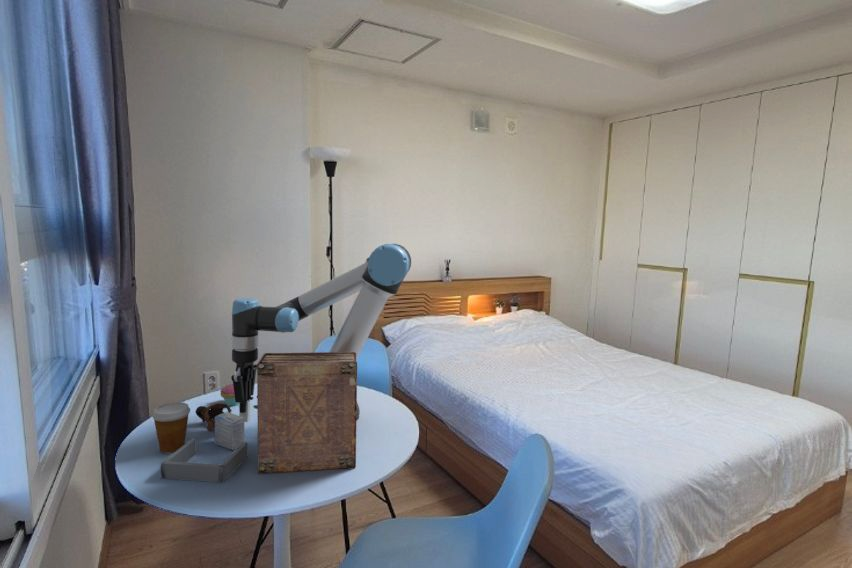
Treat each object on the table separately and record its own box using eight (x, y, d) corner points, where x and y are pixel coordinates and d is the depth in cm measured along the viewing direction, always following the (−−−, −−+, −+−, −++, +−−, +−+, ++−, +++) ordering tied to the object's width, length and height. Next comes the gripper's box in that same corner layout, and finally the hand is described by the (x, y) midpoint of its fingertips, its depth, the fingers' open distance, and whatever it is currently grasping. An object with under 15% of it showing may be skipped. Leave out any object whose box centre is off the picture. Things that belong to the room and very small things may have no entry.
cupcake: (225, 399, 164) (225, 368, 163) (249, 399, 165) (248, 368, 164) (217, 408, 156) (216, 375, 154) (242, 408, 157) (241, 375, 155)
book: (354, 452, 128) (357, 351, 125) (355, 468, 119) (358, 361, 116) (263, 456, 124) (263, 352, 120) (257, 474, 115) (257, 362, 111)
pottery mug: (236, 419, 149) (238, 403, 144) (223, 442, 141) (224, 426, 136) (201, 409, 148) (201, 393, 143) (186, 432, 140) (186, 416, 135)
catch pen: (247, 456, 124) (247, 442, 123) (223, 482, 110) (223, 467, 110) (191, 452, 124) (191, 439, 124) (161, 478, 111) (160, 463, 111)
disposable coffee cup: (150, 458, 120) (148, 416, 119) (155, 443, 129) (154, 403, 128) (189, 452, 124) (188, 412, 123) (192, 438, 133) (191, 400, 132)
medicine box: (245, 445, 130) (245, 417, 129) (232, 451, 126) (232, 422, 125) (227, 438, 134) (227, 411, 133) (214, 444, 130) (214, 416, 129)
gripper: (243, 342, 144) (242, 411, 146) (222, 352, 131) (222, 428, 133) (265, 343, 143) (264, 413, 146) (247, 354, 130) (246, 430, 133)
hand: (244, 420), depth 140 cm, fingers closed
